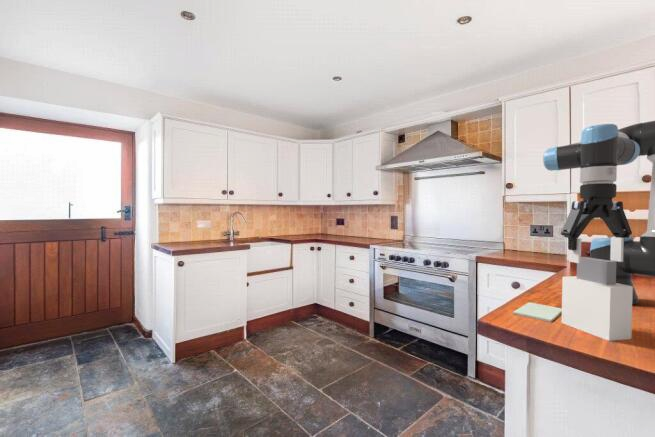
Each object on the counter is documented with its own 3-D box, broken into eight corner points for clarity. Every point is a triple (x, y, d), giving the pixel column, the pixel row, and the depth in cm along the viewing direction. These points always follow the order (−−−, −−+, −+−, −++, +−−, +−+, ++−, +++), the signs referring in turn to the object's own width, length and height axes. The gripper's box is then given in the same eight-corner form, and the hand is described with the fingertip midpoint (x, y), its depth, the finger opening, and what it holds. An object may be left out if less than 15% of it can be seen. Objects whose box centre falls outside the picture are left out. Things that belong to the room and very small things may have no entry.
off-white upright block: (581, 321, 93) (582, 255, 93) (631, 338, 80) (633, 262, 80) (561, 322, 92) (563, 256, 91) (609, 340, 79) (611, 263, 79)
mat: (563, 310, 103) (563, 308, 103) (550, 322, 93) (550, 319, 92) (528, 303, 111) (528, 302, 111) (513, 313, 100) (513, 311, 100)
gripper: (571, 181, 79) (569, 265, 80) (651, 183, 84) (649, 262, 84) (546, 184, 87) (544, 260, 87) (620, 185, 91) (618, 258, 92)
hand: (596, 261), depth 86 cm, fingers open, 13 cm apart
